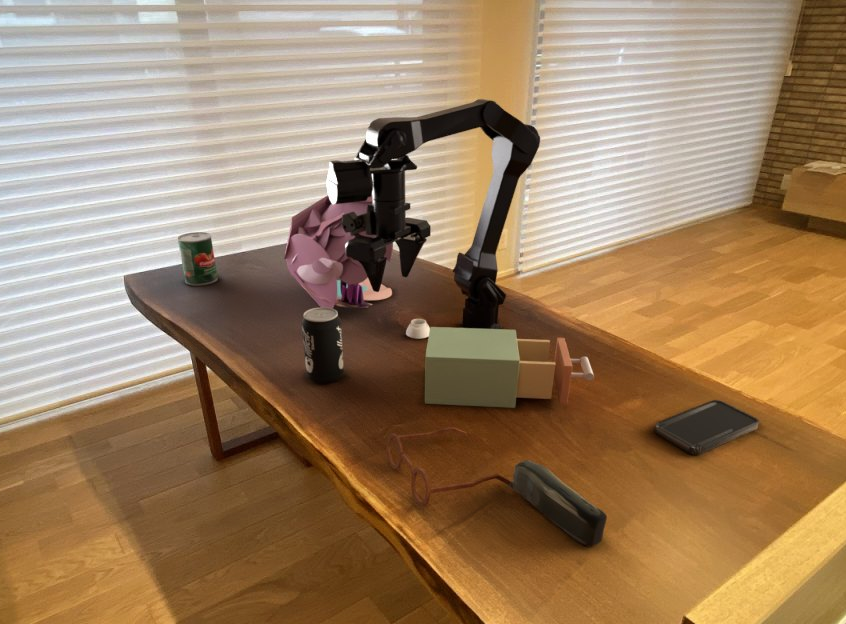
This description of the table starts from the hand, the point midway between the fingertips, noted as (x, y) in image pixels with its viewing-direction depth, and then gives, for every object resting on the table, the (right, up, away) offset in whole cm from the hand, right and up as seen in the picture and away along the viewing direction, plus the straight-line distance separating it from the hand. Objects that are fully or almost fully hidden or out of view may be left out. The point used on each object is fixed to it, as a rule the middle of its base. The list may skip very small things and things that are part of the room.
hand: (390, 283), depth 114 cm
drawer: (+24, -19, -11) cm, 33 cm away
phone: (+48, -26, -21) cm, 58 cm away
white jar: (+5, -9, +10) cm, 14 cm away
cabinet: (+14, -19, -9) cm, 25 cm away
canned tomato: (-48, +7, +40) cm, 63 cm away
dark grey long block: (+20, -35, -36) cm, 54 cm away
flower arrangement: (-10, +2, +30) cm, 32 cm away
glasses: (+8, -31, -29) cm, 43 cm away
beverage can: (-12, -17, -5) cm, 21 cm away
